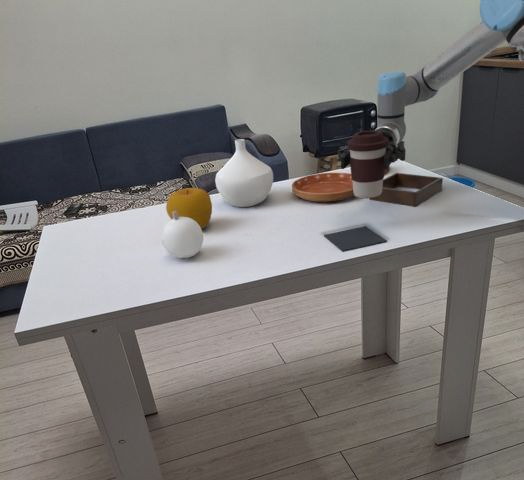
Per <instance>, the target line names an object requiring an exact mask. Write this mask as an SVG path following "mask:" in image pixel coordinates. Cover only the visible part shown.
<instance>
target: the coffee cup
mask: <svg viewBox="0 0 524 480" xmlns="http://www.w3.org/2000/svg"><path fill="white" fill-rule="evenodd" d="M388 141H389V139H388V138H387V137H384V136H383V134H382V132H380V131H375V130H363V131H362V130H361V131H358V132H355V133H353V136H352V138H350V139H349V140H348V141H347V146H348V149H349V150H350V163H349V164H350V165H349V166H350V174H351V178H352V181H353V193H354V197H356V198H360V199H369V198H372V197H376V196H379V195H380V194H381V193H382V186H383V179H385V175H384V173H385V169H384V157H385V156H386V153H385V151H386V147H387V146H388Z"/></svg>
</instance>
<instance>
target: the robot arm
mask: <svg viewBox="0 0 524 480" xmlns="http://www.w3.org/2000/svg"><path fill="white" fill-rule="evenodd" d="M479 15H480V18H481V21H480V22H479V23H477V24H476V25H475V26H474V27H472V28H470V30H469V31H467V32H466V33H464V35H462V36H461V37H459V39H457V40H456V41H454V42H453V43H452V44H450V46H448V47H447V48H446V49H445V50H443V51H441V53H439V55H437V56H436V57H435V58H433V59H432V60H431V61H429V62H428V63H427V64H426V65H424V67H423V68H421V69H419V70H418V71H417V72H416V73H414V74H412V75H411V74H410V75H408V76H407V74H406V73H405V72H404V71H389V72H383V73H381V74H380V75H379V76H378V79H377V89H376V93H377V112H376V114H377V116H376V117H377V118H376V119H377V120H376V128H375V129H374V131H380V132H382V134H383V136H384V137H387V138H388V139H389V141H388V146H387V147H386V151H385V153H386V156H385V157H384V169H387V168H388V167H389V165H390V166H391V164H392V163H396V162H397V161H399V160H400V161H402V162H403V161H405V160H406V154H407V153H406V151H407V150H406V148H405V147H406V146H405V140H404V141H403V139H404V137H405V136H406V132H407V124H406V123H405V114H406V113H405V110H406V109H405V108H406V107H408V106H411V105H414V104H418V103H423V102H427V101H429V100H431V99H433V98H434V97H435V96H436V95H437V94H438V93H439V91H440V89H442V88H443V87H444V86H446V85H447V84H449V83H450V82H451V81H453V80H454V79H456V78H457V77H458V76H460V75H461V74H462V73H464V72H465V71H467V70H468V69H470V68H471V67H472V66H475V64H476V63H478V62H479V61H481V60H482V59H484V58H485V57H487V56H488V55H489V54H491V53H492V52H493V51H495V50H496V49H498V48H499V47H500V46H502V45H503V44H504V43H508V45H509V46H510V48H519V49H521V50H522V51H523V52H524V0H480V2H479ZM337 161H339V162H340V170H344V169H346V168H347V167H348V165H349V164H350V150H349V149H348V145H347V146H344V147H343V148H340V149H338V150H337Z"/></svg>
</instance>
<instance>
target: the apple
mask: <svg viewBox="0 0 524 480" xmlns="http://www.w3.org/2000/svg"><path fill="white" fill-rule="evenodd" d="M165 210H166V213H167V215H168V217H169V219H170V220H172V219H173V211H177V214H178V217H188V218H191V219H193V220H194V221H196V222H197V223H198V225H199V226H200V228H201V230H202V229H204V228H206V227H207V226H208V225H209V223H210V221H211V217H212V213H213V203H212V199H211V196H210V194H209V193H208V192H207V191H206V190H204V189H203V188H198V187H187V188H182V189H178V190H176V191H174V192H172V193H171V194H170V195H169V196H168V199H167V202H166V205H165Z"/></svg>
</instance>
